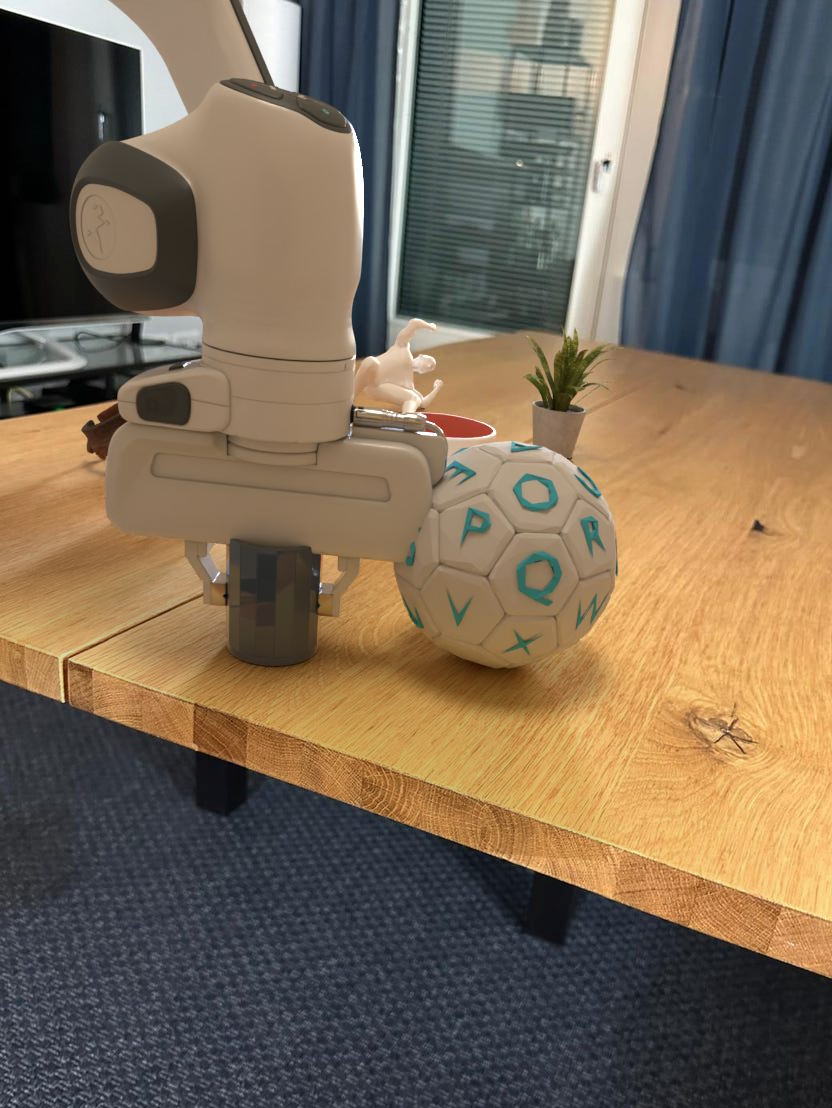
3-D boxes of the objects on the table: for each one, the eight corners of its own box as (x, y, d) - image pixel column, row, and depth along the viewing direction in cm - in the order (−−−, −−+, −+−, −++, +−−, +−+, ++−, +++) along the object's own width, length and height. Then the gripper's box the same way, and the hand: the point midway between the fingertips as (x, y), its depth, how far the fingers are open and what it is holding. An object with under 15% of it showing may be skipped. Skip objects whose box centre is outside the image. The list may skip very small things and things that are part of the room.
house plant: (632, 473, 118) (657, 340, 111) (532, 471, 113) (553, 331, 106) (583, 444, 130) (603, 322, 123) (491, 440, 125) (507, 314, 118)
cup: (461, 555, 83) (473, 445, 79) (360, 531, 85) (368, 423, 81) (497, 527, 91) (510, 426, 87) (405, 505, 94) (414, 407, 90)
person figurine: (418, 347, 120) (434, 309, 135) (323, 356, 121) (349, 317, 136) (433, 442, 127) (446, 395, 142) (343, 449, 129) (366, 402, 144)
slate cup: (217, 661, 59) (217, 544, 56) (237, 623, 65) (238, 514, 61) (311, 670, 60) (316, 554, 56) (323, 631, 65) (329, 523, 62)
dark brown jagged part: (173, 490, 91) (124, 416, 87) (103, 513, 95) (53, 443, 91) (225, 436, 100) (183, 366, 96) (159, 459, 104) (116, 393, 100)
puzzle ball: (344, 663, 61) (358, 440, 55) (442, 594, 74) (463, 406, 68) (557, 732, 56) (600, 496, 50) (623, 646, 69) (664, 449, 63)
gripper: (451, 406, 59) (430, 605, 65) (124, 368, 58) (133, 574, 63) (451, 428, 53) (428, 644, 59) (88, 386, 52) (101, 611, 58)
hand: (273, 608), depth 61 cm, fingers closed on slate cup, 6 cm apart
